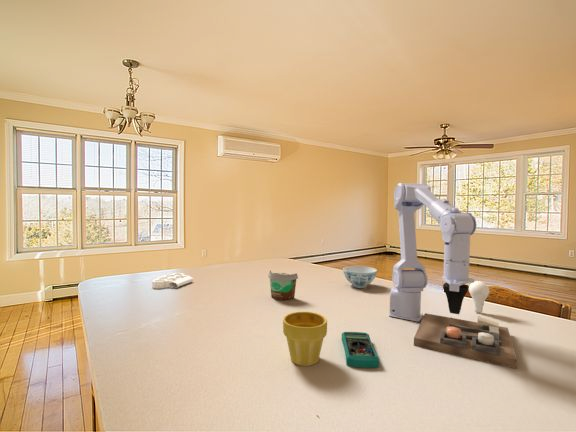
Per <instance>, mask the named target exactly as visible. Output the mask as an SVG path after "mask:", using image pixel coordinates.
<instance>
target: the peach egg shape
mask: <svg viewBox="0 0 576 432" xmlns="http://www.w3.org/2000/svg"><path fill="white" fill-rule="evenodd" d="M446 335H447V336H448V337H451V338H460V337H461V330H460V329H459V328H457V327H451V326H449V327H447V332H446Z"/></svg>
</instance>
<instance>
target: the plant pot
mask: <svg viewBox="0 0 576 432" xmlns="http://www.w3.org/2000/svg"><path fill="white" fill-rule="evenodd" d="M282 332H283V334H284V336H285V338H286V341H287V346H288V353H289V356H290V360H291V362H292V364H293V363H294V364H295V365H298V366H303V367H307V366H313V365H315V364H317V363H318V362H319V359H320V355H321V351H322V347H323V343H324V342H323V341H324V338H325V337H326V336H327V332H328V320H327V318H326V316H324V315H323V314H321V313H317V312H314V311H294V312H291V313H288V314H286V315H285V316H284V317H283V319H282Z"/></svg>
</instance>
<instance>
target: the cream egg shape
mask: <svg viewBox="0 0 576 432" xmlns="http://www.w3.org/2000/svg"><path fill="white" fill-rule="evenodd" d="M478 342H480V343H482V344H485V345H493V342H494V336H493V335H491V334H489V333H484V332H480V333H478Z"/></svg>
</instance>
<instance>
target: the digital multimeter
mask: <svg viewBox="0 0 576 432" xmlns="http://www.w3.org/2000/svg"><path fill="white" fill-rule="evenodd" d="M341 342H342V346H343V349H344V354H345V364H346V366H348V367H352V368H361V369H376V368H379V367H380V358H379V356H378V354H377V353H376V350H375V348H374V346H373V343H372V341H371V337H370V334H368V333H367V332H361V331H343V332H341Z"/></svg>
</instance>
